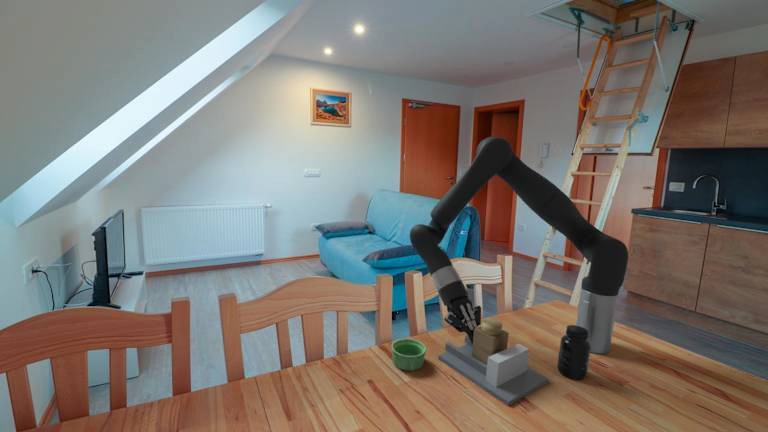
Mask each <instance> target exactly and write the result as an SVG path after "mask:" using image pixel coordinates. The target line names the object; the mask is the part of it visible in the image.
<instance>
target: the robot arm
mask: <svg viewBox="0 0 768 432" xmlns="http://www.w3.org/2000/svg"><path fill="white" fill-rule="evenodd" d="M475 154H476V155H475V157H474V159H473V161H472V163H471V164H470V166H468V168H467V170H466V171H465V172H464V173H463V175H462V176H461V178H459V180H458V181H456V183H455V184H453V185H452V187H450V188H449V190H447V192H445V194H444V195H443V196H442V197H441V198H440V200H439V201H438V202H437V204H436V205H435V206H434V207H433V209H432V210H431V212H430V217H431V220H430V222H429V223H428V224H422V223H420V224H419V223H418V224H415V225H414V226H413V227H412V228H411V229H410V231H409V240H410V243H411V245H412V247H413V249H414V251H415V252H416V253H417V254H418V256H419V257H420V259H421V260H422V261H423V262H424V263H425V266H426V267H427V270H428V272H429V274H430V276H431V279H432V282H433V285H434V287H435V289H436V291H437V294H438V295H439V298H440V300H441V302H442V304H443V305H444V306H445V307H446V311H447V315H446V316H445V317H444V318H443V319H444V321H445V322H446V323H447V324H449V326H451V327H452V328H453V329H455V330H456V331H458V332H459V333H464V334H466V336H467V335H468V337H469V339H470V341H471V343H472V344H473V336H474V329H475V328H478V327H480V326H481V324H482V306H481V305H474V304H473V302H472V301H471V300H470V299H469V292H468V290H467V289H466V286H465V285H464V282H463V281H462V279H461V277H460V274H459V273H458V271H457V270H456V268H455V267H454V265H453V263H452V261H451V259H450V257H449V255H448V254H447V252H446V251H445V250H443V249H441V247H439V245H440V244H441V242H442V241H443V239H444V238H445V237H446V234H447V232H448V230H449V229H450V226H451V225H452V224H453V223H454V221H455V220H456V219H457V217H458V216H459V215H460V214H461V213H462V212H463V210H464V209H465V208H466V206H467V205H468V204H469V203H470V202H471V200H473V198H474V197H475V195H476V194H477V193H478V192H479V191H480V190H481V189H482V188H483V187H484V186H485V185H486V184H487V183H488V182H489V181H490V180H491V179H492V178H493V177H495V175H496V176H497V177H499V178H500V179H501V180H502V181H504V182H505V183H506V184H507V185H508V186H509V187H510V188H511V190H513V191H514V193H515V194H516V195H517V196H518V198H519V199H521V201H522V202H523V203H524V204H525V205H527V207H528V208H529V209H530V210H531V211H532V212H534V213H535V214H536V215H537V216H538V218H540V219H542V221H544V222H546V223H547V224H548V225H549V226H551V227H552V228H553V229H554V230H555V231H558V232H559V233H561V234H562V235H563V236H565V237H566V239H567V240H568V241H570V242H571V244H572V245H573V246H574V247H575V248H576V249H577V250H578V251H579V253H580V254H581V255H582V256H583V258H585V260H586V261H587V262H589V263H590V267H589V272H588V275H587V276H584V277H583V278H582V280H581V287H580V292H579V293H580V294H579V303H578V309H577V317H576V318H577V319H576V326H580V327H583V328H585V329H587V330H588V339H587V340H588V341H589V343H590V345H591V350H590V353H593V354H599V355H600V354H602V355H603V354H608V353H609V352H610V351H611V347H612V346H611V344H612V338H613V333H614V331H613V330H614V325H615V319H616V313H617V312H616V310H617V306H618V299H619V298H618V297H619V293H620V292H619V291H620V289H621V287H622V286H623V284H624V281H625V277H626V272H627V267H628V262H629V250H628V247H627V245H626V244H625V243H624V242H623V241H622V240H620V239H618V238H616V237H613V236H611V235H608V234H607V233H605V232H603V231H601V230H600V229H599V228H597V227H596V226H594V225H593V224H592V223H590V222H589V221H588V220H587V219H586V218H585V217H584V216H583V215H582V214H581V212H580V211H579V209H578V207H577V206H576V204H574V202H573V200H572V199H570V197H569V196H568V195H567V194H566V193H565V192H564V191H562V189H560V188H559V187H558V186H557V185H555V184H554V183H553V182H552V181H550V180H549V179H547V178H546V177H545V176H544V175H542V174H540V173H539V172H537V171H535V170H534V169H533V168H531V167H529V166H528V165H527V164H526V163H524V162H523V160H522V159H521V158H520V157H518V156H517V155H516V154H515V152H514V151H513V147H512V145H511V143H510V142H509V141H508V140H507V139H505V138H503V137H499V136H489V137H486V138H484V139H482V140H481V141H480V143H479V144H478V145H477V147H476V152H475Z"/></svg>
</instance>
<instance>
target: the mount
mask: <svg viewBox="0 0 768 432" xmlns="http://www.w3.org/2000/svg"><path fill="white" fill-rule="evenodd" d="M464 343H465V344H463V345H461V346H459V347H457V345H454V344H453V343H451V342H449V341H448V342H445V344H444V345H445V347H444V348H445V349H444V350H445V351H446V352H444V353H441V354H438V355H437V356H438V357H437V359H438V360H439V361H441V362H442V363H443V364H446V365H447V366H448V367H450V368H451V369H452V370H454V371H456V372H457V373H459V374H460V375H461V376H463V377H464V378H466V379H467V380H469V381H471V383H474V384H475V385H476V386H478V387H479V388H480V389H482V390H483V391H484V392H486V393H488V394H489V395H491V396H493V397H494V398H495V399H497V400H499V402H501V403H503V404H505V405H506V406H510V405H512V404H514V403H515V402H517V401H519V400H521V399H523V398H524V397H526V396H527V395H529V394H531V393H533V392H534V391H536V390H537V389H540V388H541V387H542V386H544V385H546V384H548V383H549V379H550V378H549V377H547V376H546V375H544V374H541V373H540V372H538V371H536V370H534V369H533V368H531V367H530V366H528V361H529V353H530V348H527V347H526V346H524V345H522V344H519V343H517V344H514V345H512V346H511V347H507V349H506V350H503V351H501V352H499V353H496V354H494V355H492V356H490V357H488V362H487V365H486V364H484V363H483V362H481V361H479V360H478V359H476V358H474V357H473V356H472V348H473V344H472V343H471V341H470V339H469V337H468V335H467V334H466V335H465V337H464Z"/></svg>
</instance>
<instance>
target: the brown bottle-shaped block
mask: <svg viewBox="0 0 768 432" xmlns="http://www.w3.org/2000/svg"><path fill="white" fill-rule="evenodd" d="M509 333H510V332H508V331H506V330H504V329H503V324H502V322H501V321H498V320H496V319H491V318H485V319H483V320H481V324H480V326H478V327H477V328H475V329H474V336H473V348H472V356H473V357H474V358H476V359H478V360H479V361H481V362H483V363H484V364H486V365H487V362H488V357H490V356H492V355H494V354H496V353H499V352H501V351H503V350H506V349H508V344H509V343H508V342H509V335H510V334H509Z"/></svg>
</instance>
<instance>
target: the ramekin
mask: <svg viewBox="0 0 768 432" xmlns="http://www.w3.org/2000/svg"><path fill="white" fill-rule="evenodd" d="M391 352H392V353H391V354H392V355H391V356H392V362H393V365H394V366H395V367H396V368H398V369H400V370H403V371H409V372H411V371H417V370H419V369H421V368H422V367H423V366H424V360H425V356H426V355H425V354H426V352H427V347H426V345H425V344H424V343H423V342H421V341H420V340H417V339H412V338H402V339H397V340H395V341H393V343H391Z"/></svg>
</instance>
